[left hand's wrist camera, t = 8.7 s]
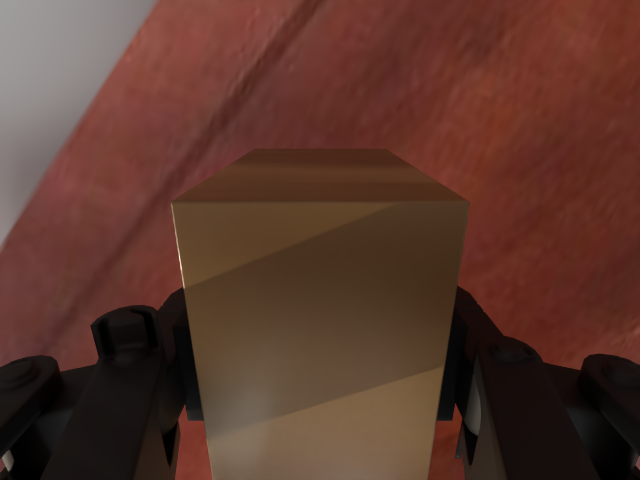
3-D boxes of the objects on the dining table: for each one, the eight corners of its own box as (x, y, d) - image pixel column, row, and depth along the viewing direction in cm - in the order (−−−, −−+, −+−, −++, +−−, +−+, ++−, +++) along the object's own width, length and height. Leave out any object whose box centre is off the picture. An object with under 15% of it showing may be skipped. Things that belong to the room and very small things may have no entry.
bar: (253, 148, 13) (168, 201, 6) (386, 148, 13) (471, 201, 6) (278, 538, 21) (256, 771, 14) (361, 538, 21) (383, 771, 14)
